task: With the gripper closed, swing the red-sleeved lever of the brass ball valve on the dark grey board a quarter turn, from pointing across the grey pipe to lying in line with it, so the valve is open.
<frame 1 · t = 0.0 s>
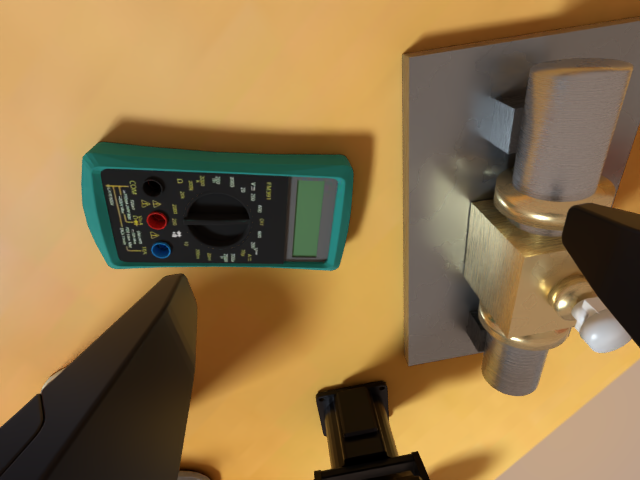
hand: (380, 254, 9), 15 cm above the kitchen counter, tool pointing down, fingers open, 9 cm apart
digital multimeter: (229, 200, 25), on the kitchen counter
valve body: (500, 224, 27), on the kitchen counter
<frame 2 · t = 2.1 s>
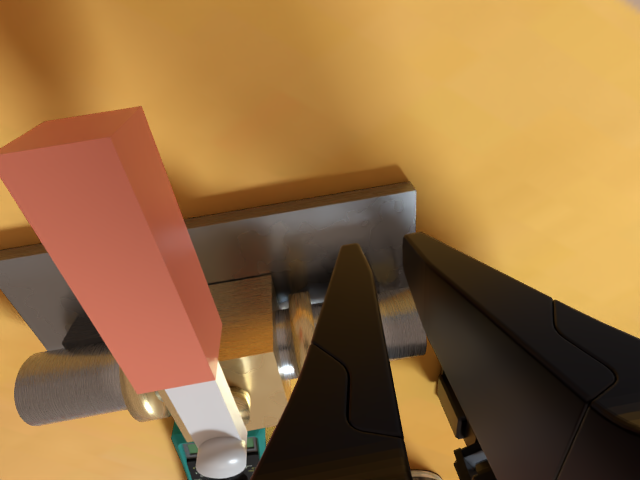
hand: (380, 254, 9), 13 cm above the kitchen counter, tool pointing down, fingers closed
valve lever: (175, 339, 15), point 9 cm above the kitchen counter, hinge at -90.0°
digital multimeter: (229, 448, 37), on the kitchen counter
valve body: (235, 304, 26), on the kitchen counter
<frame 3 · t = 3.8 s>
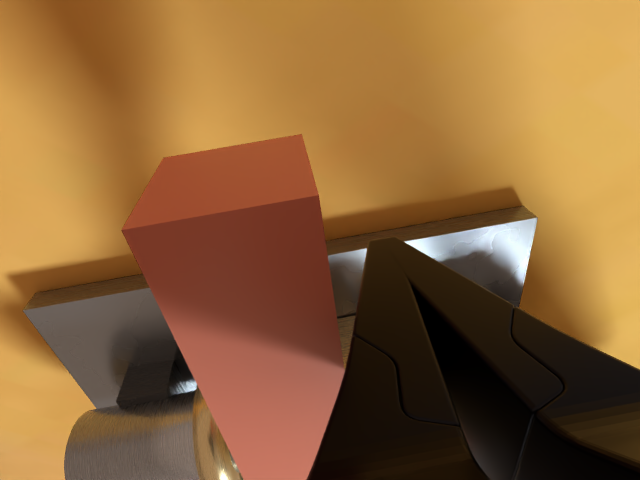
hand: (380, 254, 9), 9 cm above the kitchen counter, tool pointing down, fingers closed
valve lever: (301, 433, 11), point 9 cm above the kitchen counter, hinge at -89.9°, touching gripper
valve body: (306, 345, 23), on the kitchen counter
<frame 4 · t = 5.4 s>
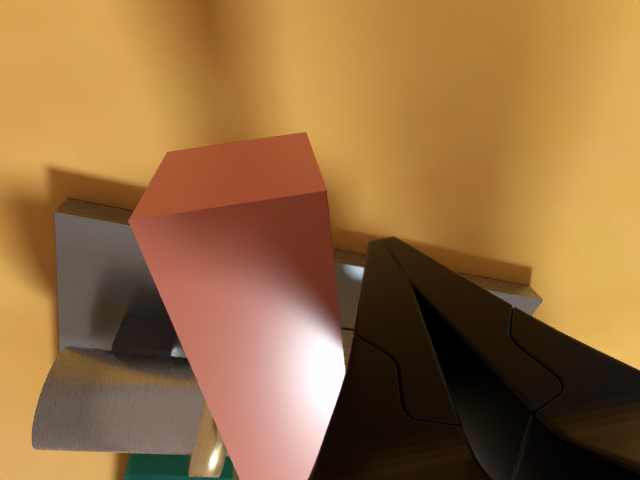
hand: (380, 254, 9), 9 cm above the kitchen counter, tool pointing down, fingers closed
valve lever: (297, 432, 11), point 9 cm above the kitchen counter, hinge at -66.6°, touching gripper
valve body: (299, 347, 23), on the kitchen counter
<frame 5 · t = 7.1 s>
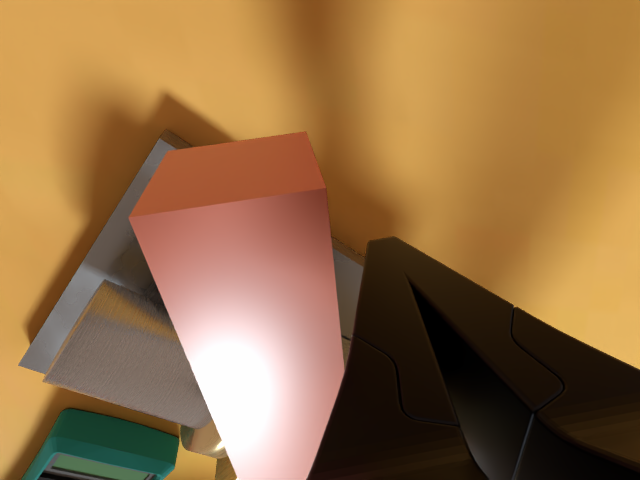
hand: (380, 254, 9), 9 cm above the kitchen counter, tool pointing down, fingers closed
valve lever: (296, 433, 11), point 9 cm above the kitchen counter, hinge at -44.8°, touching gripper
digital multimeter: (86, 469, 27), on the kitchen counter
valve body: (298, 349, 23), on the kitchen counter
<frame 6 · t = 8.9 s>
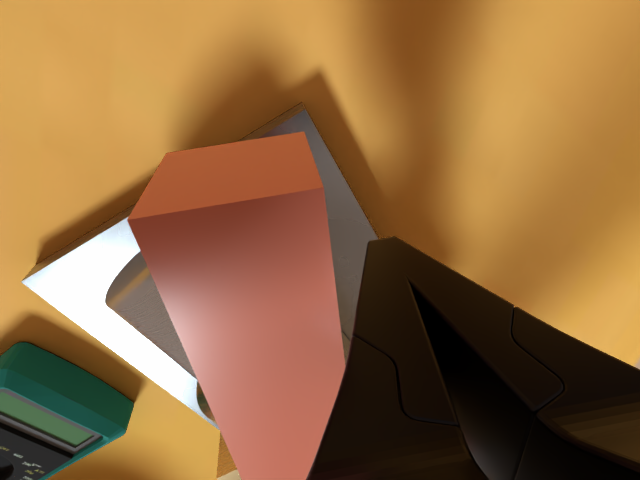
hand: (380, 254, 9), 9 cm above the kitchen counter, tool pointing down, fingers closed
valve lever: (299, 433, 11), point 9 cm above the kitchen counter, hinge at -22.1°, touching gripper
digital multimeter: (8, 419, 23), on the kitchen counter
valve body: (301, 349, 23), on the kitchen counter
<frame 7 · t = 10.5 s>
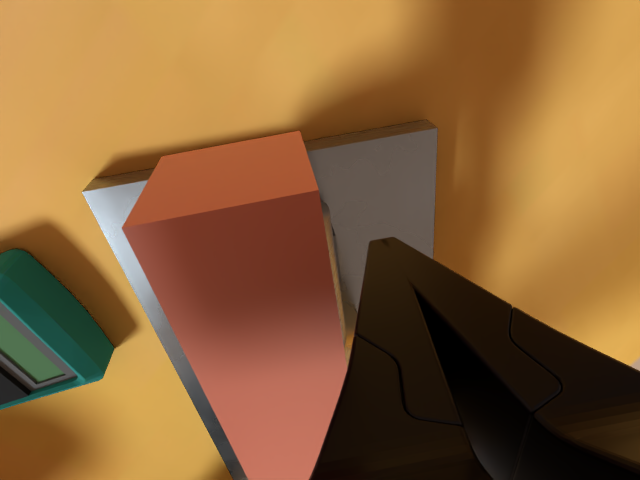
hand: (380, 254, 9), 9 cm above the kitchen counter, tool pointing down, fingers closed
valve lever: (304, 430, 11), point 9 cm above the kitchen counter, hinge at 0.5°, touching gripper
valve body: (306, 344, 23), on the kitchen counter
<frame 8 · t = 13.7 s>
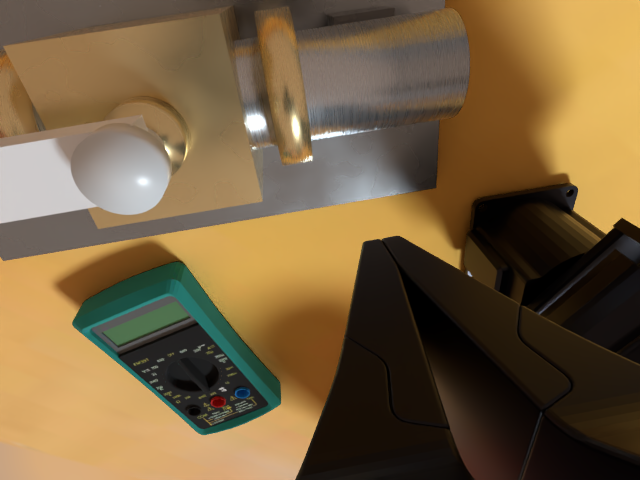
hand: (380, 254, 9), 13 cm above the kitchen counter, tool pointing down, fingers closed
digital multimeter: (194, 341, 29), on the kitchen counter
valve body: (187, 86, 19), on the kitchen counter
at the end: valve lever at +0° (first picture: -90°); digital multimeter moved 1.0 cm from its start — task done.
